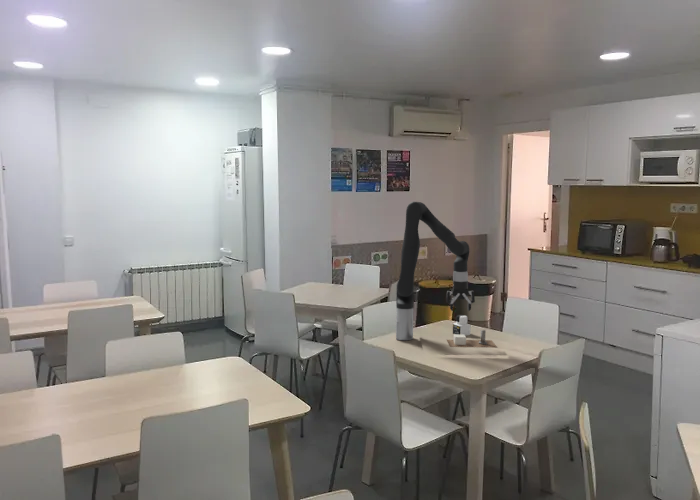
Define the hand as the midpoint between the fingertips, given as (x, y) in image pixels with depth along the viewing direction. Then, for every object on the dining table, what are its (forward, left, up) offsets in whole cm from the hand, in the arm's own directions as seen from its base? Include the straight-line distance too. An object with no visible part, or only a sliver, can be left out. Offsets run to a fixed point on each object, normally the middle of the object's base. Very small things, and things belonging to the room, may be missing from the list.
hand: (460, 310), depth 290 cm
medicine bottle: (+4, +19, -19) cm, 27 cm away
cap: (0, -1, -17) cm, 17 cm away
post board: (+6, -1, -19) cm, 20 cm away
